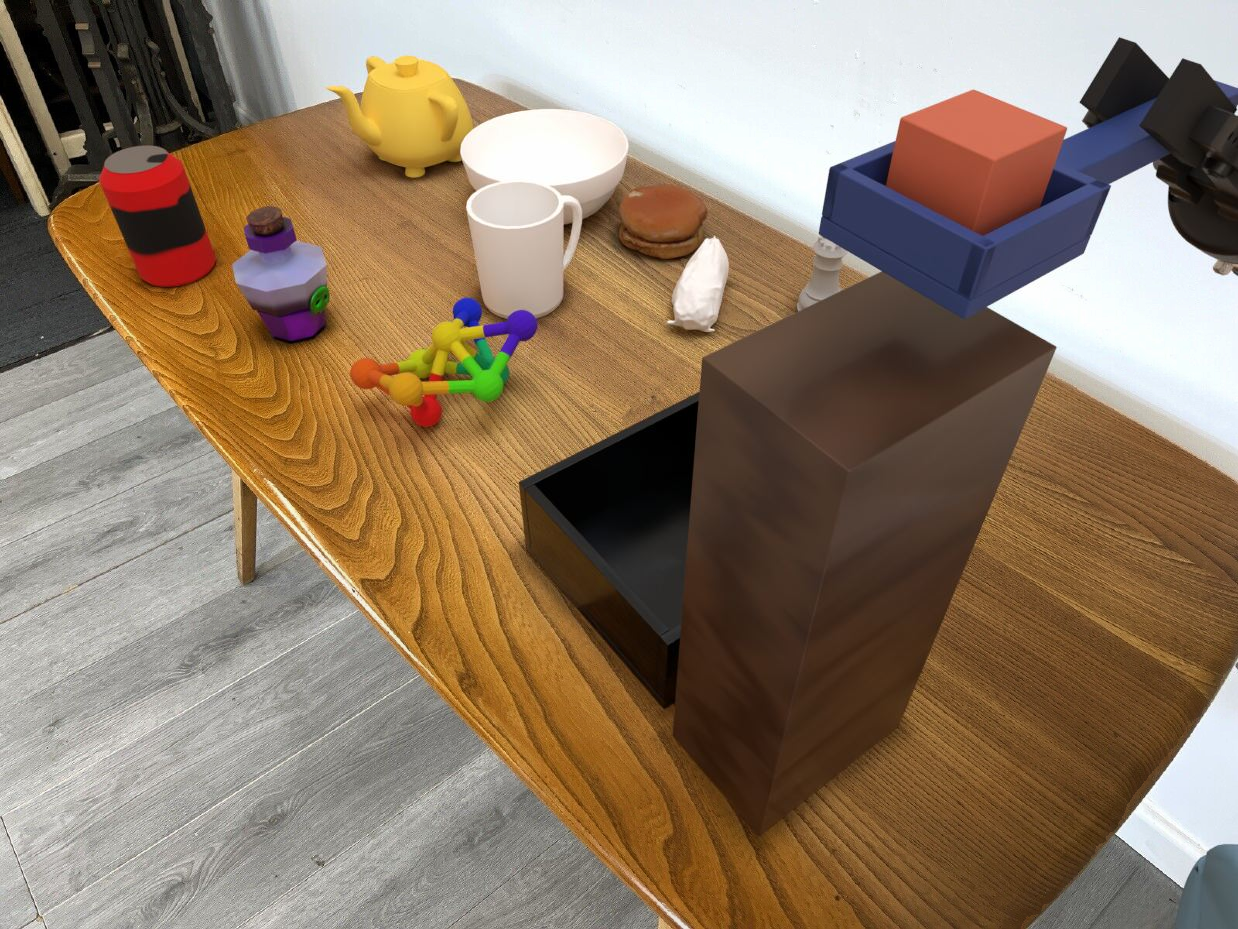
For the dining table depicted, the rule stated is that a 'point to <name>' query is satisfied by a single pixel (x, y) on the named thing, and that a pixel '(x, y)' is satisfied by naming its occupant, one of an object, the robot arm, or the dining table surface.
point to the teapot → (409, 113)
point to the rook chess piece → (823, 273)
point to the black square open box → (622, 538)
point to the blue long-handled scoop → (1005, 258)
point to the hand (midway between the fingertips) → (1137, 84)
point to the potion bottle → (283, 277)
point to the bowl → (549, 154)
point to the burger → (662, 221)
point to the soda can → (157, 215)
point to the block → (975, 160)
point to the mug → (521, 245)
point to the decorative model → (449, 362)
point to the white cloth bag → (701, 288)
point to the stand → (835, 527)
